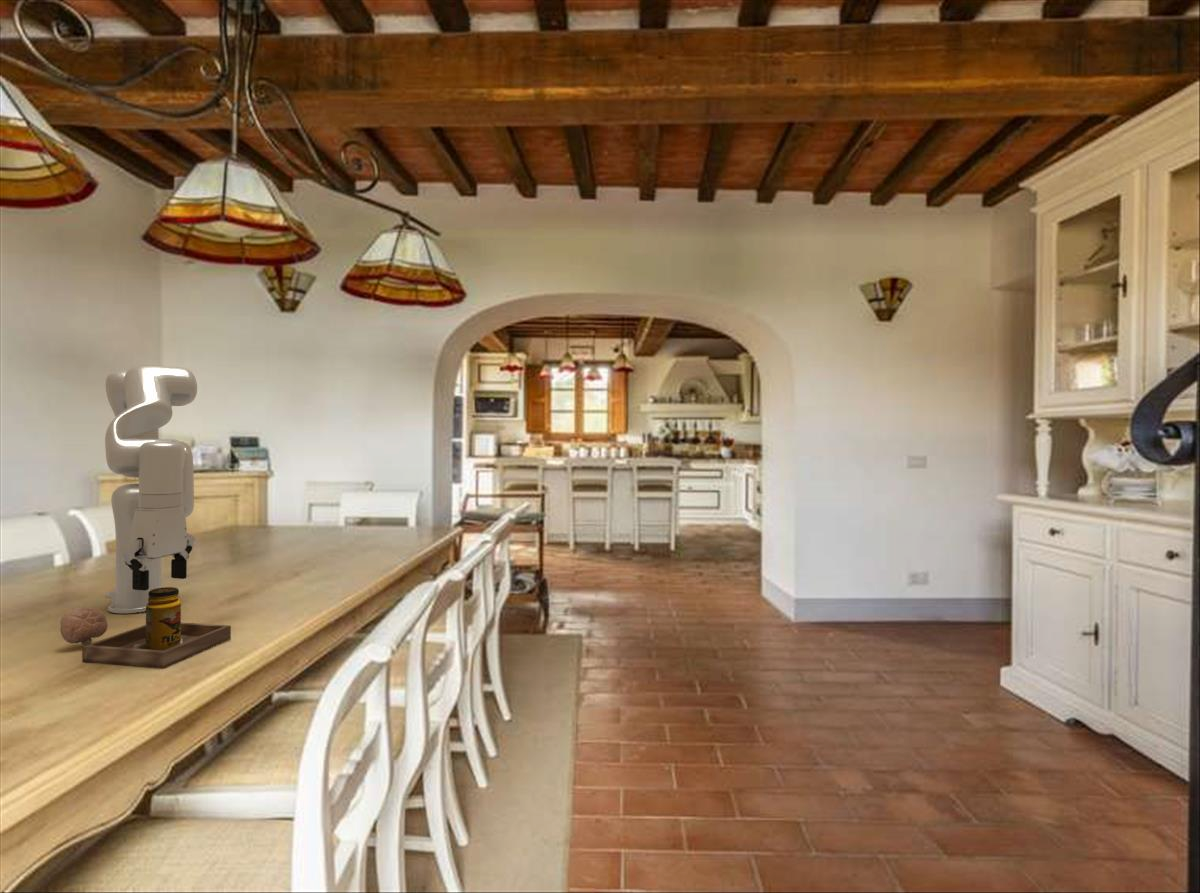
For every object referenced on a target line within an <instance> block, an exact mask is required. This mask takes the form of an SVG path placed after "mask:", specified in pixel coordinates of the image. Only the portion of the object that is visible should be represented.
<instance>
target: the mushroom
mask: <svg viewBox="0 0 1200 893" xmlns="http://www.w3.org/2000/svg"><path fill="white" fill-rule="evenodd" d="M108 627H109V626H108V620H107V617H106V615H105V613H104V612H103V611H102V610H101V609H99V608H97V607H87V606H86V607H76V608H72V609H70V610H68V611H67V612H65V613H64V614H63V616H62V617H61V620H60V629H59V631H60V634H61V636H62V638H63V640H64V641H65V642H67V643H69V644H70V645H71V644H79V643H81V645H82V646H85V645H88V644H91V643H93V638H94V639H95V638H100V637H102V636H103V635H105V633H106V632H107V630H108Z"/></svg>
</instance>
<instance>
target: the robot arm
mask: <svg viewBox="0 0 1200 893" xmlns="http://www.w3.org/2000/svg"><path fill="white" fill-rule="evenodd" d="M197 382H198V381H197V378H196V376H195V375H194V373H193V371H191V370H190V369H188V368H186V367H185V368H184V367H179V366H178V367H177V366H163V365H138V366H134V367H132V368H130V369H128V370H116V371H112V372H110V373H109V374H108V375H107V376H106V379H105V383H104V385H105V392H106V397H107V400H108V403H109V406H110V408H111V411H112V412H113V414H114V416H115V418H114V419H112V420H111V422H110V423H109V425H108V426H107V429H106V433H105V437H104V443H105V445H104V447H105V448H104V449H105V458H106V464H107V466H108V468H109V470H110V471H111V472H112V473H114V474H117V475H121V476H124V477H126V478H133V479H136V478H137V479H138V482H135V483H128V484H127V483H126V484H124V485H120V486H118V487H117V488H115V489H114V491H113V492H112V494H111V509H112V514H113V521H114V530H115V532H114V533H115V589H114V588H113V589H110V590H108V591H107V592H106V593H105V594H104V599H107V600H108V599H109V600H110V599H111V603H110V604H109V605H108V606H107V611H108V612H109V613H111V614H112V613H113V614H136V613H137V612H138V613H146V612H145V611H146V606H147V604H148V598H149V596H148V593H149V591H151V590H153V589H157V588H162V558H165V557H169V556H172V557H173V558H172V559H171V563H170V565H171V568H170V569H171V570H170V572H171V573H170V574H171V575H170V577H171V578H172V579H178V580H180V579H181V580H184V579H186V578H187V570H188V566H187V564H188V562H187V561H188V560H189V558H190V553H191V552H192V550H193V545H194V542H195V540H196V537H195V536H194V535H192V534H189V533H188V532H187V519H186V518H187V517H189V516H191V514H192V513H193V511H194V506H195V484H194V482H195V480H194V457H193V451H192V449H191V446H190V445H189V444H188V443H186V442H184V441H180V440H178V439H171V438H170V439H169V438H159V436H160V435H159V429H160V428H162V427H164V426H166V425H167V424H168V423H169V422H170V421H171V419H172V418H173V408H172V407H183V406H187V405H188V404H191V403H193V402H194V400H195V398H196V396H197V394H198V384H197Z"/></svg>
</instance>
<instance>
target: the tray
mask: <svg viewBox="0 0 1200 893" xmlns="http://www.w3.org/2000/svg"><path fill="white" fill-rule="evenodd" d="M231 630H232V626H231V625H226V624H225V625H224V624H213V623H212V624H211V623H208V624H207V623H197V622H196V623H195V622H183V621H181V639H182V641H183V643H182V644H179V645H177V646H174V647H172V648H169V649H167V650H164V651H161V650H148V649H135V648H134V645H135V644H145V643H146V624H144V625H141V626H138V627H136V628H132V629H130V630H126V631H123V632H121V633H118V634H114V635H112V636H109V637H105V638H103V639H100V640H98V641H94V642H91V643H90V644H88V645H85V646H84V645H82V647H81V649H82V650H81V651H82V653H81V654H82V655H81V657H82V659H81V660H82V661H81V662H82V663H92V664H93V663H94V664H104V665H105V664H107V665H116V666H117V665H119V666H129V665H130V666H129V667H132V666H133V667H142V668H145V667H146V668H154V669H155V668H157V669H158V668H159V669H166V668H168V667H171V666H172V664H173V665H175V664H177V663H180V662H182V661H184V660H187V659H188V657H189V658H192V657H194V656H196V655H199V654H200V653H202V651H203V652H205V651H207V650H210V649H211V647H212V648H213V646H214V647H217V646H218V645H217V644H219V645H221V644H223V643H225V641H226V642H228V641H230V640H231V638H232V631H231ZM229 639H230V640H229ZM227 640H228V641H227ZM222 642H223V643H222ZM220 643H221V644H220ZM216 645H217V646H216ZM209 648H210V649H209ZM204 650H205V651H204ZM195 654H196V655H195ZM193 655H194V656H193ZM186 658H187V659H186ZM181 660H182V661H181ZM179 661H180V662H179ZM170 665H171V666H170Z"/></svg>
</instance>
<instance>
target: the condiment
mask: <svg viewBox="0 0 1200 893" xmlns="http://www.w3.org/2000/svg"><path fill="white" fill-rule="evenodd" d="M179 593H180V590H179V589H178V587H175V586H174V587H173V586H172V587H171V586H170V587H169V586H167V587H165V586H164V587H161V588H157V589H153V590H151V591H149V593H148V596H149V598H148V604H147V606H146V612H145V625H146V643H145V644H135V645H134V648H135V649H148V650H161V651H164V650H167V649H169V648H172V647H174V646H177V645H179V644H182V643H183V641H182V639H181V622H182V617H181V616H182V610H181V608H182V605H181V604H182V602H181V600H180V599H179V598H180V595H179Z"/></svg>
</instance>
